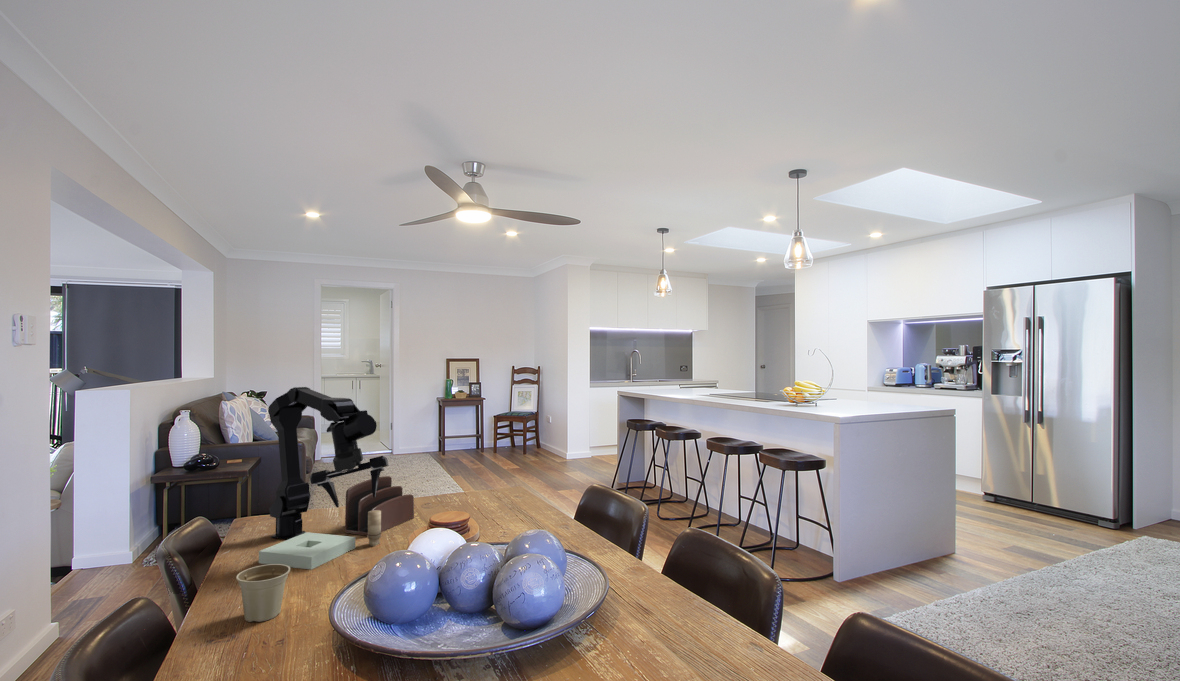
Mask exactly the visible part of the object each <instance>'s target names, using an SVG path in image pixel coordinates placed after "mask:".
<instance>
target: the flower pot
mask: <svg viewBox="0 0 1180 681" xmlns="http://www.w3.org/2000/svg"><path fill="white" fill-rule="evenodd" d="M290 572H291V567H289V566H287V565H282V564H261V565H256V566H253V567H249V568H247V569H244V570H242V571H240V572H239V573H237V575H236V578H235V579H236V581H237V582H238V586H239V587H240V591H241V592H240V593H241V600H242V606H243V615H244V620H245V621H246V622H249V623H252V622H258V623H259V622H260V623H261V622H266V621H269V620H272V619H274V618H276V617H277V616H278V615H280V613H281V611H282V603H283V598H284V593H285V592H284V591H285V587H286V581H287V579H288V575H289V573H290Z"/></svg>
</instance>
